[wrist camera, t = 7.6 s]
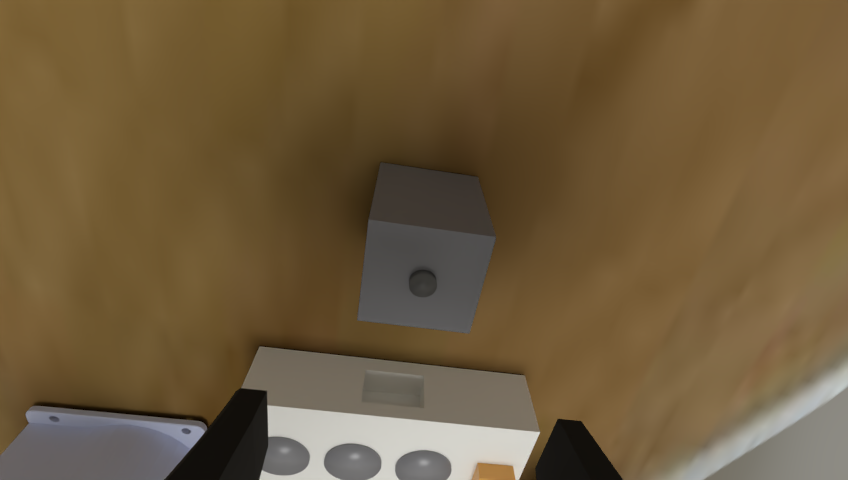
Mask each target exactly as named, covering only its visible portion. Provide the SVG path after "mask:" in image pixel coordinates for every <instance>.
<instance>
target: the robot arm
mask: <svg viewBox="0 0 848 480" xmlns="http://www.w3.org/2000/svg"><path fill="white" fill-rule="evenodd" d="M26 418H27V420H28V422H29V424H28V425H27V426H26V427H25V428H24V429H23V430H22V431H21V433H20V434H19V435H18V436H17V437H16V438H15V439H14V440H13V442H12V443H11V444H10V445H9V446H8V447H7V448H6V449H5V451H4V452H3V453H2V454H1V455H0V480H259V479H260V475H261V472H262V468H263V464H264V460H265V456H266V453H267V449H268V408H267V391H265V390H255V389H245V388H240V389H239V390H237V391H236V392H235V394H234V395H233V396H232V398H231V399H230V401H229V402H228V403H227V405H226V406H225V407H224V409H223V410H222V411H221V413H220V414H219V415H218V416H217V418H216V419H215V420H214V421H213V423H212V424H211V425H210V427H209V428H208V429H207V426H206V425H205V424H204V423H203V422H201V421H194V420H184V419H173V418H163V417H152V416H141V415H131V414H120V413H110V412H99V411H89V410H78V409H67V408H57V407H46V406H32V407H31V408H30V409H29V410H28V411H27V412H26ZM535 470H536V478H537V480H623V479H622V478H621V476H620V475H619V474H618V472H617V471H616V469H615V468H614V467H613V465H612V464H611V462H610V461H609V460H608V458H607V457H606V455H605V454H604V453H603V451H602V450H601V448H600V447H599V445H598V444H597V443H596V441H595V440H594V438H593V437H592V436H591V434H590V433H589V431H588V430H587V429H586V427H585V426H584V424H583V423H582V422H581V421H574V420H564V419H558V420H557V422H556V424H555V426H554V429H553V431H552V433H551V435H550V437H549V440H548V442H547V444H546V446H545V448H544V450H543V453H542V455H541V457H540V459H539V461H538V464H537V466H536V468H535Z"/></svg>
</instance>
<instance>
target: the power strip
mask: <svg viewBox="0 0 848 480" xmlns="http://www.w3.org/2000/svg"><path fill="white" fill-rule="evenodd" d="M241 388H245V389H255V390H265V391H267V408H268V449H267V453H266V456H265V460H264V464H263V468H262V472H261V475H260V479H259V480H519V478H520V476H521V474H522V472H523V469H524V467H525V465H526V463H527V460H528V458H529V456H530V454H531V451H532V449H533V447H534V445H535V442H536V440H537V438H538V436H539V433H540V430H539V426H538V423H537V419H536V415H535V412H534V408H533V404H532V401H531V397H530V393H529V389H528V386H527V382H526V378H525V375H516V374H507V373H497V372H488V371H479V370H470V369H461V368H452V367H443V366H434V365H425V364H416V363H407V362H398V361H388V360H379V359H370V358H361V357H352V356H343V355H334V354H325V353H316V352H307V351H298V350H288V349H279V348H270V347H261V346H259V349H258V351H257V353H256V355H255V358H254V360H253V362H252V365H251V367H250V369H249V371H248V374H247V376H246V378H245V381H244V383H243V385H242V387H241Z"/></svg>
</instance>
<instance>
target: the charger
mask: <svg viewBox="0 0 848 480" xmlns="http://www.w3.org/2000/svg"><path fill="white" fill-rule="evenodd" d="M495 240H496V235H495V232H494V228H493V225H492V222H491V218H490V215H489V212H488V209H487V205H486V202H485V199H484V195H483V192H482V189H481V186H480V182H479V179H478V177H475V176H469V175H462V174H455V173H449V172H442V171H435V170H429V169H422V168H415V167H408V166H402V165H395V164H388V163H382V162H381V163H380V168H379V173H378V177H377V182H376V187H375V191H374V196H373V201H372V206H371V210H370V215H369V220H368V229H367V238H366V247H365V256H364V264H363V273H362V282H361V291H360V300H359V309H358V318H357V320H359V321H368V322H376V323H385V324H393V325H402V326H410V327H419V328H427V329H436V330H444V331H453V332H461V333H470V329H471V326H472V322H473V319H474V315H475V311H476V308H477V304H478V301H479V297H480V294H481V290H482V286H483V283H484V279H485V276H486V272H487V268H488V265H489V261H490V258H491V254H492V250H493V247H494V243H495Z"/></svg>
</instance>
